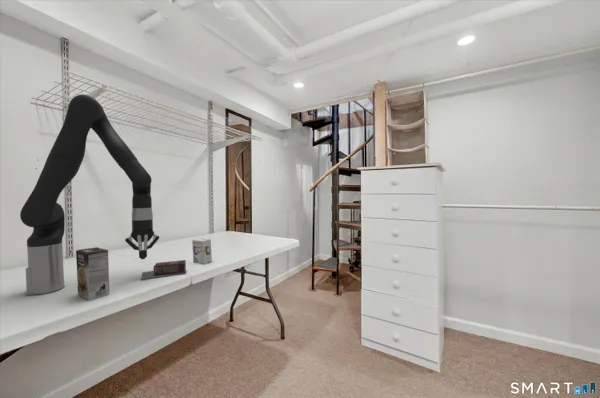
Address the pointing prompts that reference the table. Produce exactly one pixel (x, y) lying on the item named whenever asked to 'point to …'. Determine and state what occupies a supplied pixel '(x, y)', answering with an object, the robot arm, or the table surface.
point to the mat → (151, 275)
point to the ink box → (202, 250)
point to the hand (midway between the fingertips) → (143, 258)
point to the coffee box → (92, 273)
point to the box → (169, 267)
